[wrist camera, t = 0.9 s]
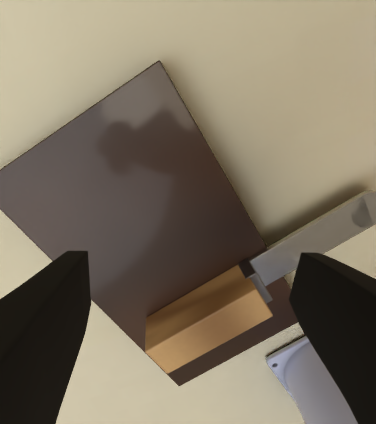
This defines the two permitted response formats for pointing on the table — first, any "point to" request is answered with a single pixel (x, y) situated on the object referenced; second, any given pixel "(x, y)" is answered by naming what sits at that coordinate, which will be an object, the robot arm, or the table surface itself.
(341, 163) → the table surface
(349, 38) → the table surface
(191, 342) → the knife
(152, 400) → the table surface
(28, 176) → the board
